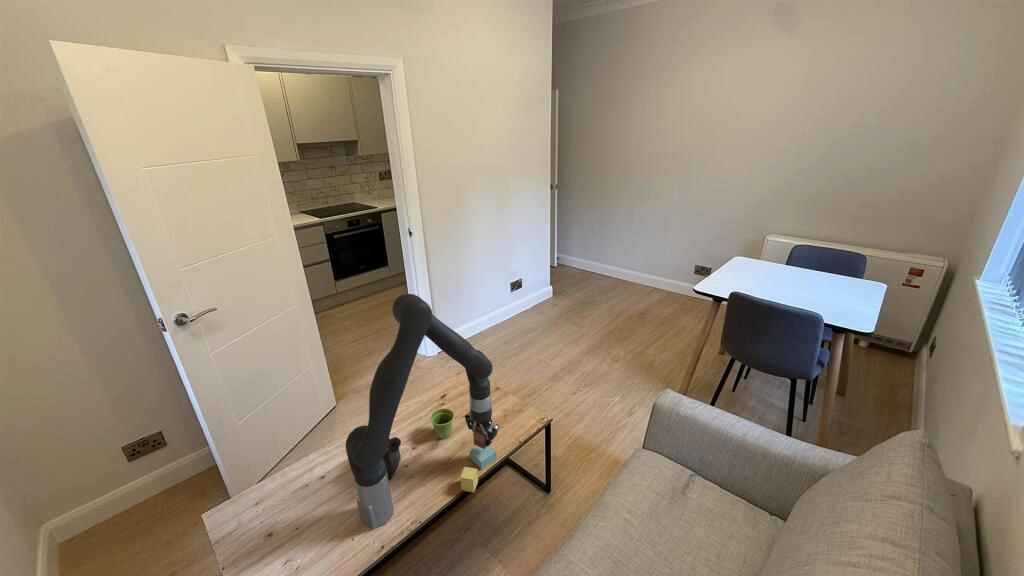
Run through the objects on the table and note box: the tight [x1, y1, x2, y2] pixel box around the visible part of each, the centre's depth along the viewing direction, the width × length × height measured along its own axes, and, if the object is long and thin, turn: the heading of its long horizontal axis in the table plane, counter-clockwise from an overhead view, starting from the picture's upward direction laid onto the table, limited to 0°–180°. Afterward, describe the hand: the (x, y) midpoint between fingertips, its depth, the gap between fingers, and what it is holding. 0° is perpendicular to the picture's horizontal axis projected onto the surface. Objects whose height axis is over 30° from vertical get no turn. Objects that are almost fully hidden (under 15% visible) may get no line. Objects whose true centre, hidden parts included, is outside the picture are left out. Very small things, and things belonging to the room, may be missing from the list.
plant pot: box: [429, 407, 455, 439], centre depth 162 cm, size 9×9×9 cm
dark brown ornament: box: [383, 436, 402, 481], centre depth 144 cm, size 16×11×18 cm
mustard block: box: [460, 466, 479, 493], centre depth 140 cm, size 4×4×6 cm
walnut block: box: [472, 428, 489, 449], centre depth 147 cm, size 4×4×6 cm
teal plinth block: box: [469, 445, 498, 471], centre depth 151 cm, size 7×7×4 cm
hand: (482, 441), depth 148 cm, fingers closed on walnut block, 4 cm apart
